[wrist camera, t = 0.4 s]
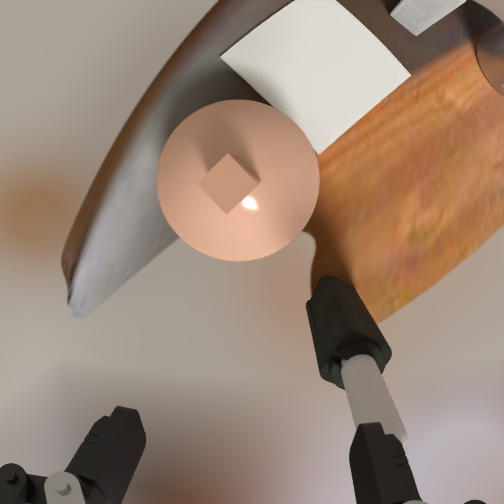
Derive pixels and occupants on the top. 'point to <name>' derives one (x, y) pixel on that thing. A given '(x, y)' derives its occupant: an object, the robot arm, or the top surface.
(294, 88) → the mat
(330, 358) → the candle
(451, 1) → the skincare box
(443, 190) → the top surface
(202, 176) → the lid
